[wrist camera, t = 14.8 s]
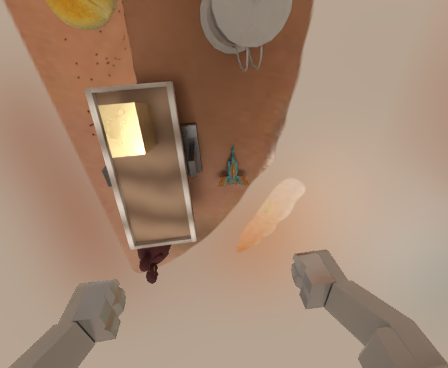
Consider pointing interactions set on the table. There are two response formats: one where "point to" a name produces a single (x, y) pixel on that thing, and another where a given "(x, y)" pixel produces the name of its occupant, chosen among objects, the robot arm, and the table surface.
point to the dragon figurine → (233, 174)
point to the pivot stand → (189, 151)
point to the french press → (243, 24)
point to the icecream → (152, 260)
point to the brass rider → (128, 128)
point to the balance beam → (149, 169)
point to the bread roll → (83, 12)
